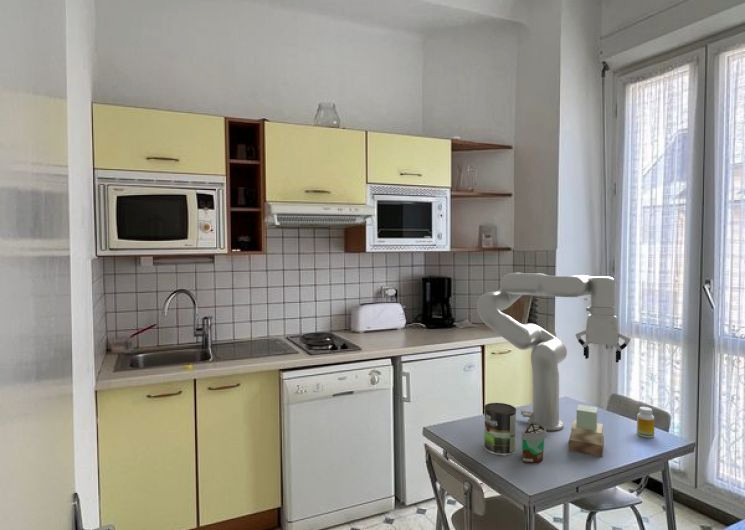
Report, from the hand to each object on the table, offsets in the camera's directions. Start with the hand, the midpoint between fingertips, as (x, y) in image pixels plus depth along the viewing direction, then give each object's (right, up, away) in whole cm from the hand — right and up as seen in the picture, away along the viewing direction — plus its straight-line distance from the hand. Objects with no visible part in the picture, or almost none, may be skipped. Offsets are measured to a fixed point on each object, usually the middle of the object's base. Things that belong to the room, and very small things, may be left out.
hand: (601, 359), depth 161 cm
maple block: (-9, -25, -7) cm, 27 cm away
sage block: (-9, -21, -7) cm, 24 cm away
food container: (-29, -29, -15) cm, 43 cm away
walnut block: (-9, -29, -7) cm, 31 cm away
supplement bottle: (+17, -28, +3) cm, 33 cm away
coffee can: (-38, -29, -8) cm, 48 cm away
